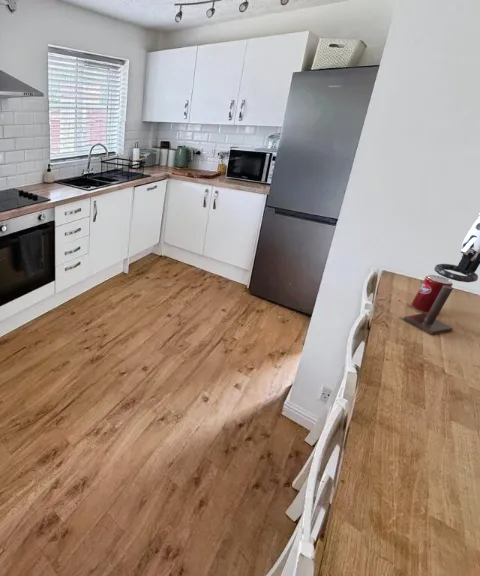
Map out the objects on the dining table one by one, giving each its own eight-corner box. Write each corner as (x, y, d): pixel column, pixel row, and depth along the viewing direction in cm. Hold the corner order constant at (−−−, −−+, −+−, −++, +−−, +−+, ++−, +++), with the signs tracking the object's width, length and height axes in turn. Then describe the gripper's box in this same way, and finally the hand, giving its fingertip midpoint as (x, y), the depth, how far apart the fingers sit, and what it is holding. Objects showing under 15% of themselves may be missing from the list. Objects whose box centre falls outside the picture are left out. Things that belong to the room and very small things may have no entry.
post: (451, 331, 118) (474, 292, 112) (431, 334, 116) (454, 295, 109) (422, 316, 126) (442, 279, 119) (403, 319, 124) (422, 281, 117)
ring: (484, 281, 110) (487, 276, 109) (460, 284, 107) (463, 279, 106) (448, 266, 118) (451, 261, 117) (425, 269, 115) (428, 264, 114)
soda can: (411, 309, 130) (427, 279, 124) (410, 301, 135) (425, 272, 129) (437, 317, 126) (455, 286, 120) (435, 308, 131) (452, 278, 126)
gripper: (496, 218, 99) (461, 278, 108) (533, 215, 103) (496, 274, 112) (465, 209, 105) (433, 268, 114) (501, 207, 109) (468, 263, 118)
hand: (465, 270), depth 113 cm, fingers closed on ring, 2 cm apart
